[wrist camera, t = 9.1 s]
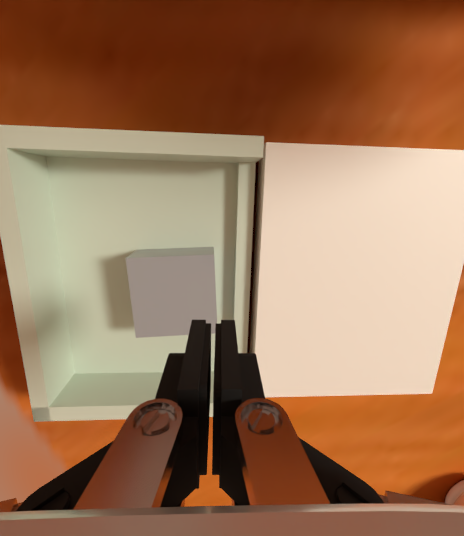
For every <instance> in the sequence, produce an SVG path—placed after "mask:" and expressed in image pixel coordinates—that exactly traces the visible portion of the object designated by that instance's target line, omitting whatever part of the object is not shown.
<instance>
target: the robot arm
mask: <svg viewBox="0 0 464 536" xmlns="http://www.w3.org/2000/svg"><path fill="white" fill-rule="evenodd" d="M210 391H211V323H206V320H192V322H191V326H190V331H189V336H188V340H187V345H186V350H185V353H169V355H168V358H167V361H166V364H165V367H164V371H163V374H162V377H161V380H160V384H159V387H158V390H157V393H156V397H155V399H153V400H148V401H146V402H144V403H142V404H140V405H139V406H137V407H136V408H135V409H134V410H133V411H132V412H131V413H130V415H129V416H128V418H127V419H126V421H125V423H124V425H123V426H122V428H121V430H120V431H119V433H118V435H117V436H116V438H115V440H114V441H113V442H111V443H110V444H108V445H107V446H105V447H103V448H102V449H100V450H99V451H97V452H96V453H94V454H92V455H91V456H89V457H88V458H86V459H85V460H83V461H81V462H80V463H78V464H77V465H75V466H74V467H72V468H70V469H69V470H67V471H66V472H64V473H63V474H61V475H59V476H58V477H57V478H55V479H53V480H52V481H50V482H49V483H47V484H45V485H44V486H42V487H41V488H39V489H38V490H37V491H35V492H34V493H33V494H31V495H30V496H29V497H28V498H27V499H26V500H25V501H24V502H22V503H17V500H16V498H14V499H10V500H6V501H1V502H0V536H464V506H459V505H451V504H446V503H442V502H437V501H432V500H428V499H423V498H418V497H413V496H409V495H404V494H399V493H395V492H390V491H385V495H384V496H383V495H379V494H377V493H376V491H375V490H374V489H373V488H371V487H370V486H369V485H368V484H367V483H365V482H364V481H363V480H361V479H360V478H358V477H357V476H355V475H354V474H352V473H351V472H349V471H348V470H346V469H345V468H343V467H342V466H340V465H339V464H337V463H336V462H334V461H333V460H331V459H330V458H328V457H327V456H325V455H324V454H322V453H321V452H319V451H318V450H317V449H315V448H314V447H312V446H311V445H309V444H308V443H306V442H305V441H303V440H302V439H300V438H299V437H298V436H297V434H296V432H295V430H294V428H293V426H292V423H291V421H290V419H289V417H288V415H287V413H286V412H285V411H284V409H283V408H282V407H281V406H280V405H278V404H277V403H275V402H273V401H271V400H268V399H265V395H264V391H263V386H262V381H261V376H260V372H259V367H258V362H257V357H256V354H255V353H238V345H237V336H236V326H235V320H221V323H216V327H215V357H214V387H213V460H212V475H219V488H222V489H223V490H224V491H225V492H226V493H227V494H228V495H229V496H230V497H231V498H232V506H197V507H184V505H185V498H186V497H187V496H188V495H189V494H190V493H191V492H192V491H193V490H194V489H195V488H199V477H200V475H206V474H207V455H208V434H209V413H210Z"/></svg>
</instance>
